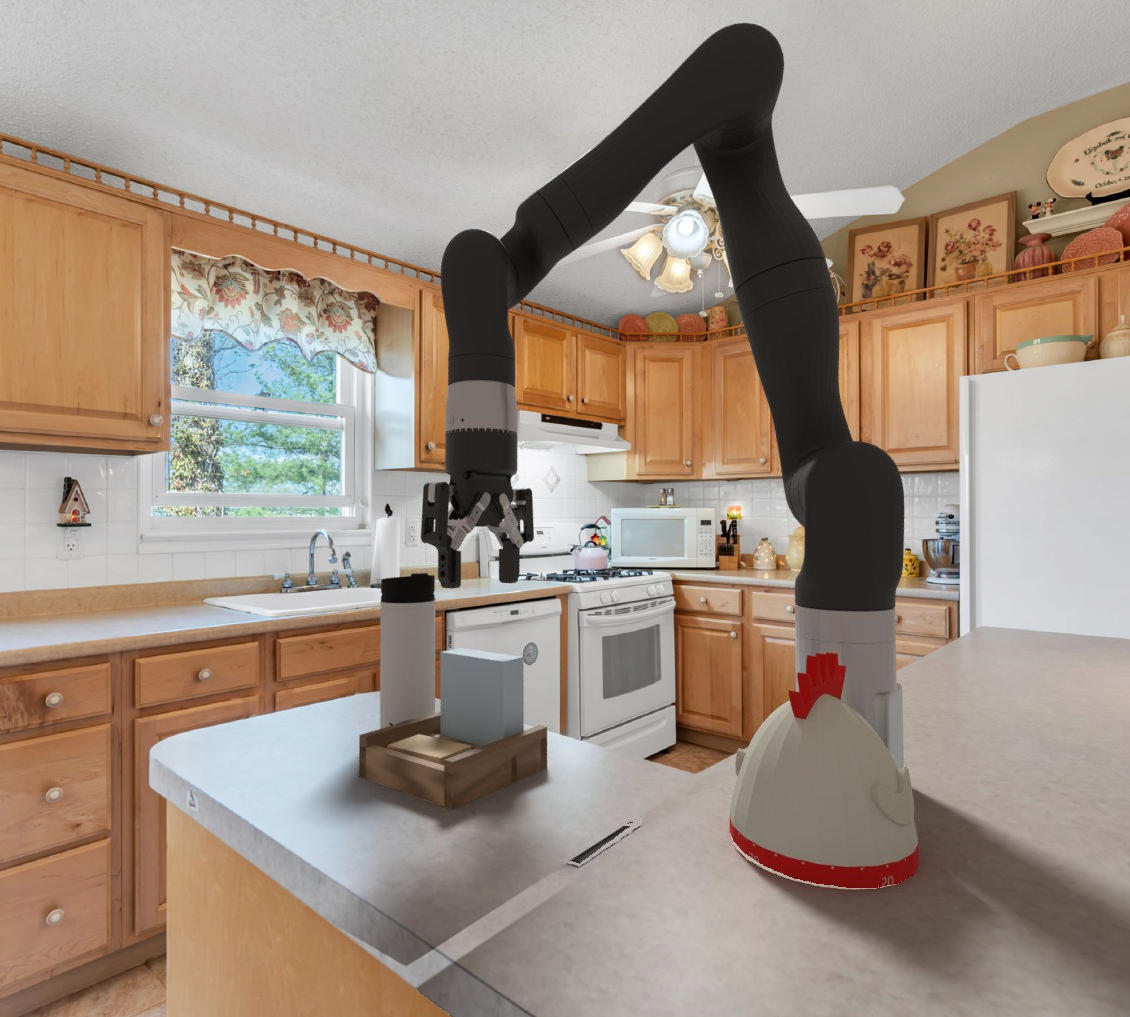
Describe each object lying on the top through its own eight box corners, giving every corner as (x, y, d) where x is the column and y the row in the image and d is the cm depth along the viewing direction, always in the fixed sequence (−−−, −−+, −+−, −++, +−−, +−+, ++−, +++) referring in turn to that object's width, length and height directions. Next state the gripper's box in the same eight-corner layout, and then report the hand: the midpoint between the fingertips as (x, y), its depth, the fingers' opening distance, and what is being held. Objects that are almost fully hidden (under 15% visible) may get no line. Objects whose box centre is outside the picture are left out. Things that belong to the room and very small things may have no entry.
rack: (547, 776, 69) (547, 726, 69) (452, 820, 59) (452, 762, 59) (456, 751, 77) (456, 707, 77) (359, 786, 67) (359, 734, 67)
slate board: (523, 766, 69) (523, 657, 70) (503, 774, 67) (503, 661, 67) (461, 749, 75) (461, 647, 75) (440, 756, 73) (440, 651, 73)
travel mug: (396, 757, 75) (396, 574, 76) (370, 743, 80) (371, 572, 81) (446, 745, 79) (446, 572, 80) (419, 732, 84) (419, 569, 85)
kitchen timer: (944, 845, 54) (941, 654, 55) (874, 914, 45) (870, 681, 45) (781, 797, 64) (779, 635, 65) (696, 844, 55) (694, 654, 55)
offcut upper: (471, 762, 66) (471, 745, 66) (440, 775, 62) (440, 758, 62) (418, 749, 70) (418, 734, 70) (387, 761, 66) (387, 745, 66)
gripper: (456, 418, 64) (456, 592, 64) (551, 434, 75) (551, 582, 75) (404, 425, 69) (403, 588, 68) (501, 440, 80) (501, 579, 80)
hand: (481, 585), depth 72 cm, fingers open, 8 cm apart
